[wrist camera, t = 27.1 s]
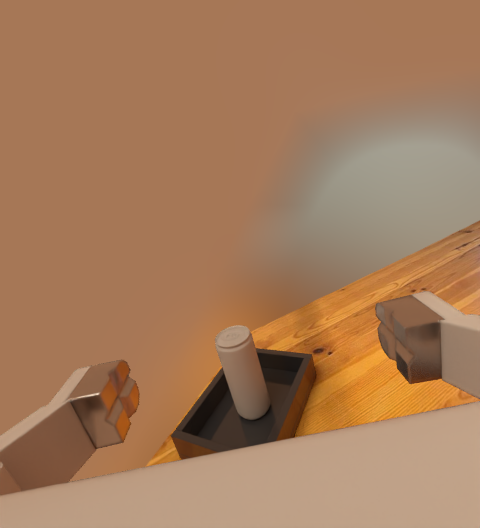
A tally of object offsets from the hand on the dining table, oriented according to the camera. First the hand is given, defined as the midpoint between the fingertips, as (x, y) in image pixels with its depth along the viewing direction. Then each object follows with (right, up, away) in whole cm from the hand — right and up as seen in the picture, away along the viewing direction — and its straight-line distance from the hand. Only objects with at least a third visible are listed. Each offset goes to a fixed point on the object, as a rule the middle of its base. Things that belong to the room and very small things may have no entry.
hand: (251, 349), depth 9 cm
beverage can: (+2, -17, +32) cm, 36 cm away
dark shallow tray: (+2, -18, +32) cm, 37 cm away
